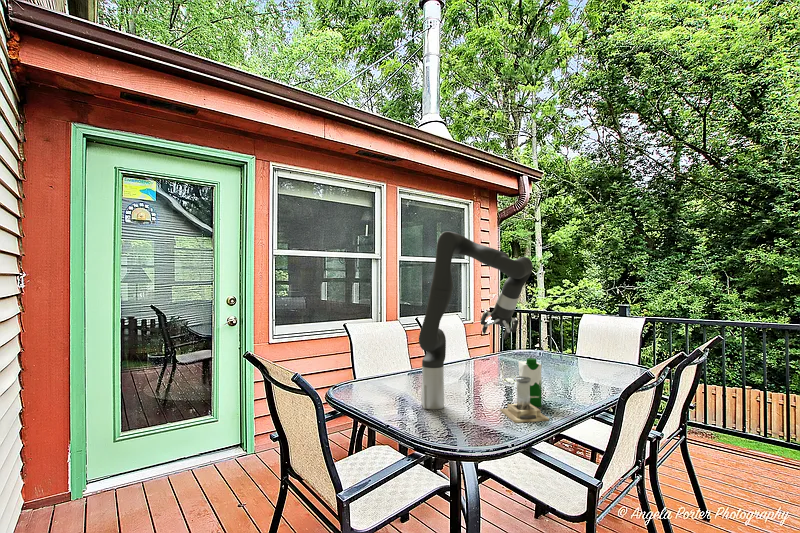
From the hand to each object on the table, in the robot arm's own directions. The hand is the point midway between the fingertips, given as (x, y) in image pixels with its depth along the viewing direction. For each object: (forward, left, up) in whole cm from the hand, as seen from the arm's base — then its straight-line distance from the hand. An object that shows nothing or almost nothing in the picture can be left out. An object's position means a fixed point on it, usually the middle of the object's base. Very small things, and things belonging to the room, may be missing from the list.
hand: (494, 335), depth 170 cm
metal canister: (+9, -7, -30) cm, 32 cm away
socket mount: (+9, -7, -31) cm, 33 cm away
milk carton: (+18, +6, -31) cm, 37 cm away
